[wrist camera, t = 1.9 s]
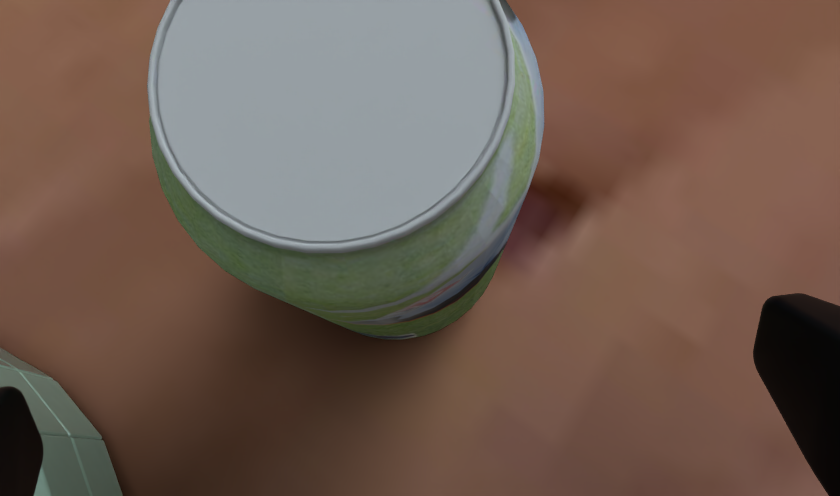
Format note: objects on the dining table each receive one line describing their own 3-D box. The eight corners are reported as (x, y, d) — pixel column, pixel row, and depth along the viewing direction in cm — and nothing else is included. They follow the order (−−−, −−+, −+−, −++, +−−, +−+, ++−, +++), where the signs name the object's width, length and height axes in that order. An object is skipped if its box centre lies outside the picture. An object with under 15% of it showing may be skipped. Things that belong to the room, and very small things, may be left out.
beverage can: (525, 206, 21) (689, -103, 10) (420, 425, 19) (471, 365, 7) (346, 122, 22) (299, -262, 10) (225, 325, 19) (-7, 127, 8)
